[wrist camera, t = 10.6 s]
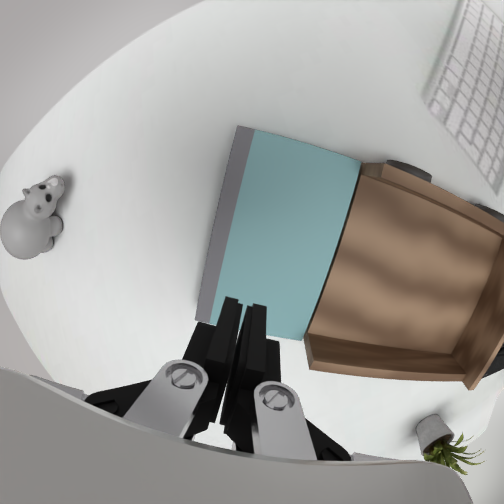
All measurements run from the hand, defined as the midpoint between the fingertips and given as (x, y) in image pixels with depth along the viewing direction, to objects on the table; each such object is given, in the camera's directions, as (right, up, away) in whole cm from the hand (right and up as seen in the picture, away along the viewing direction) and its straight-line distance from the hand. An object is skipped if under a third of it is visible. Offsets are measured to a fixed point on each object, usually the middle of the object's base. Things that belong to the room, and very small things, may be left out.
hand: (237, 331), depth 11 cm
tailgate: (+9, +3, +17) cm, 19 cm away
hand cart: (+21, 0, +19) cm, 28 cm away
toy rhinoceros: (-25, +9, +19) cm, 32 cm away
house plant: (+36, -29, +28) cm, 54 cm away
